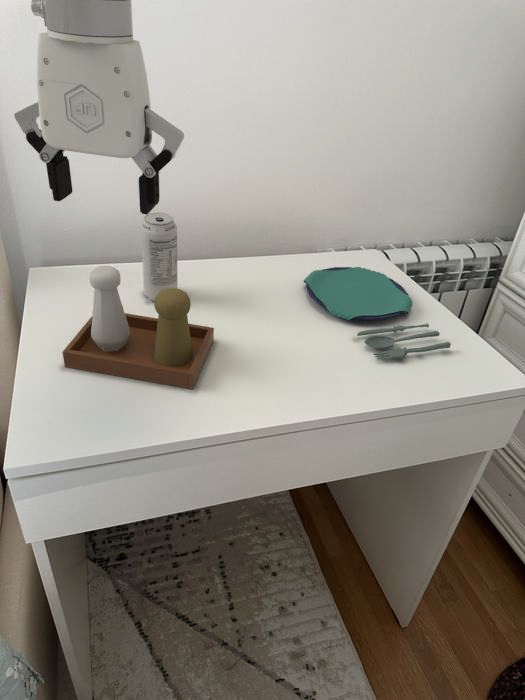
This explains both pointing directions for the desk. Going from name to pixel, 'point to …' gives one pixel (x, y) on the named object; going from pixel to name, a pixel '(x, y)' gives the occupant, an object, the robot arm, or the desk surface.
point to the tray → (139, 354)
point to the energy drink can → (159, 253)
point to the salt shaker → (108, 310)
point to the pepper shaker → (172, 328)
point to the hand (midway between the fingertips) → (105, 203)
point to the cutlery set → (366, 304)
